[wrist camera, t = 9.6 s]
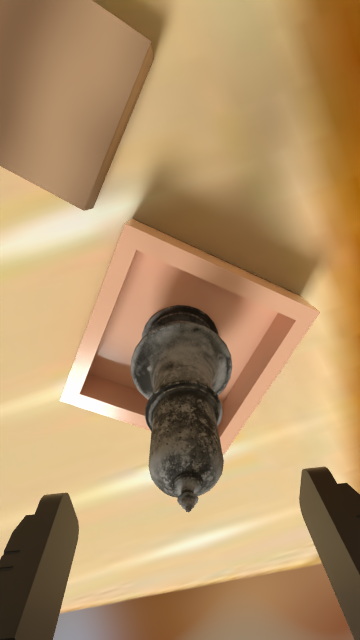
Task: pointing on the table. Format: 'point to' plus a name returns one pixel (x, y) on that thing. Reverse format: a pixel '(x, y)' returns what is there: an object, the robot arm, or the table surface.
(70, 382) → the tray
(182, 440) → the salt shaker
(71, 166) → the bronze block
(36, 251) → the table surface
